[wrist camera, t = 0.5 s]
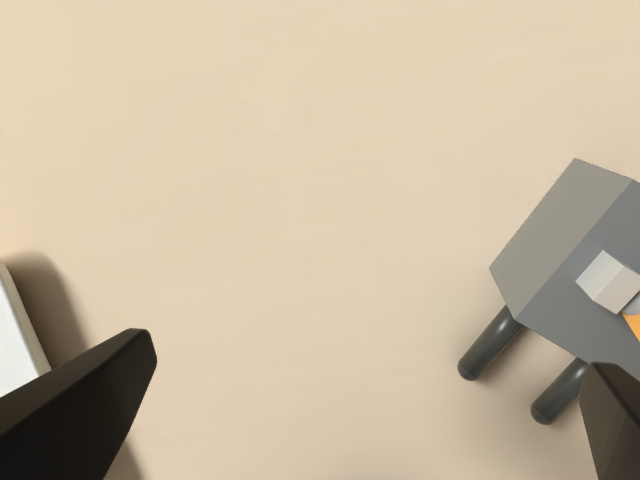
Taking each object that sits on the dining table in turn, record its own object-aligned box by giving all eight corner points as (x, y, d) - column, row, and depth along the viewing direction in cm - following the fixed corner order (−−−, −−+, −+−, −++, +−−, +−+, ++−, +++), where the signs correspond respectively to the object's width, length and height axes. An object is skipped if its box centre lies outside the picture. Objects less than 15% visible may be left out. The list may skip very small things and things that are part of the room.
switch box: (568, 432, 27) (630, 559, 19) (425, 348, 27) (434, 443, 19) (747, 260, 22) (917, 341, 15) (574, 157, 22) (659, 189, 15)
